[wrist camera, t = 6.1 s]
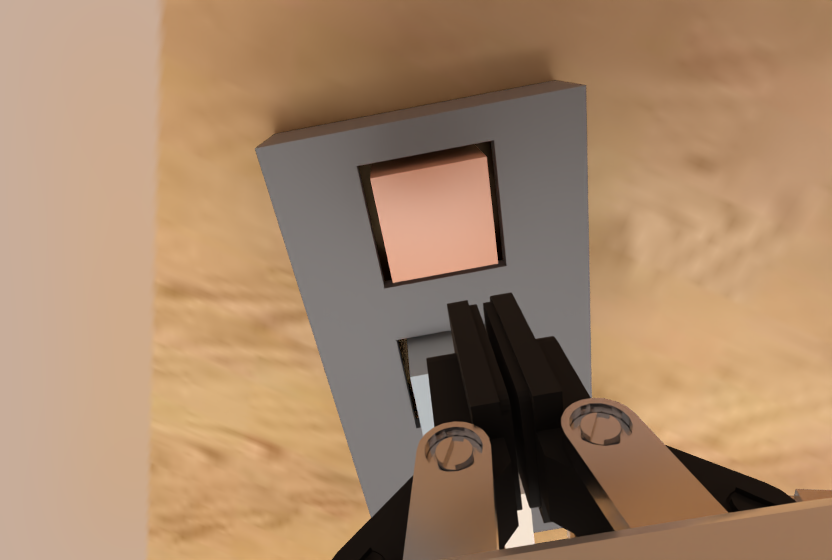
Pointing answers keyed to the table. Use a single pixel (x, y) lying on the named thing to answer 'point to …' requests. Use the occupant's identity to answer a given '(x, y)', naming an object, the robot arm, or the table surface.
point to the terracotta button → (435, 212)
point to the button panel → (428, 296)
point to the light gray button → (418, 370)
